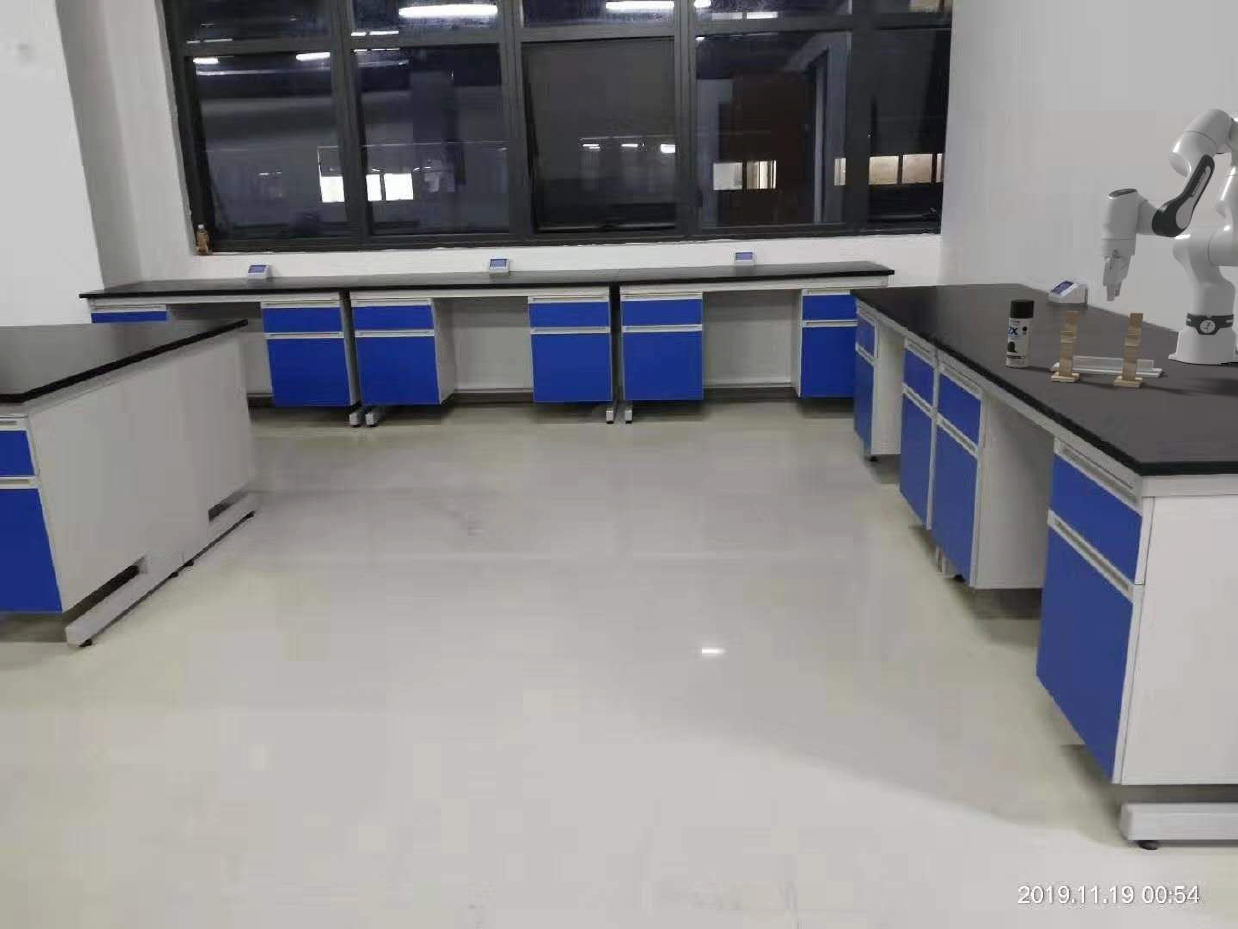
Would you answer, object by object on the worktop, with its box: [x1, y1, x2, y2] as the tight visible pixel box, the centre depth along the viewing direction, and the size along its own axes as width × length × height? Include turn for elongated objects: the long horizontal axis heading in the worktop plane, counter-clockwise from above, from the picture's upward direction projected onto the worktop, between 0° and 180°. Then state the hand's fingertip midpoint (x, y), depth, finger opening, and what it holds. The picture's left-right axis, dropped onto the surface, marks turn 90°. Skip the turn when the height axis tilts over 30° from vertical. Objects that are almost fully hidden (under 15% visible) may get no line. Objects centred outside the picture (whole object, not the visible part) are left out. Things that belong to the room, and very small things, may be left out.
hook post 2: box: [1113, 312, 1144, 388], centre depth 257 cm, size 8×6×19 cm
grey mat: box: [1049, 361, 1163, 379], centre depth 277 cm, size 10×28×1 cm, turn 55°
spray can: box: [1005, 298, 1035, 369], centre depth 286 cm, size 7×7×20 cm
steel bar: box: [1073, 355, 1155, 372], centre depth 276 cm, size 3×24×3 cm, turn 55°
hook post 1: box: [1050, 310, 1080, 383], centre depth 266 cm, size 8×6×19 cm
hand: (1113, 298), depth 271 cm, fingers open, 8 cm apart
